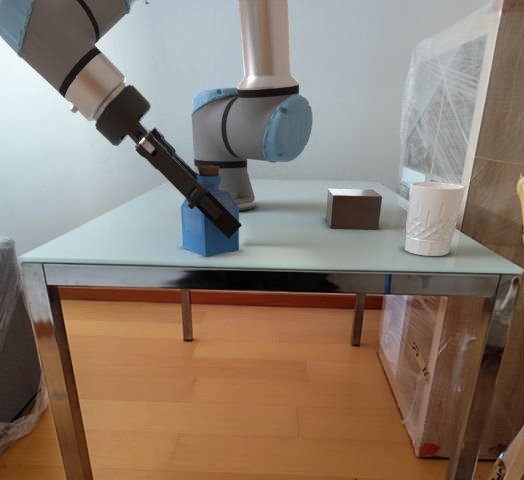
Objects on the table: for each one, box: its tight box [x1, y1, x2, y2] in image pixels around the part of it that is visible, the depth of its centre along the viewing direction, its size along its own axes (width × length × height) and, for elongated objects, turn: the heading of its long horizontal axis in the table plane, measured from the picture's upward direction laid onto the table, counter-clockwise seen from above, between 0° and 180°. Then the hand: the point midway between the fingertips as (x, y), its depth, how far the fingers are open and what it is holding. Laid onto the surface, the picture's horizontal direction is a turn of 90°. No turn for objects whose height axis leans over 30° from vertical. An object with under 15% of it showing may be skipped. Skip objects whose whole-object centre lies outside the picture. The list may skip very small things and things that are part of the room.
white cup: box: [404, 181, 466, 257], centre depth 73 cm, size 8×8×10 cm
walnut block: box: [325, 188, 383, 230], centre depth 92 cm, size 9×9×6 cm
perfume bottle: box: [180, 166, 240, 258], centre depth 71 cm, size 6×6×12 cm
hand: (231, 224), depth 73 cm, fingers closed on perfume bottle, 8 cm apart
